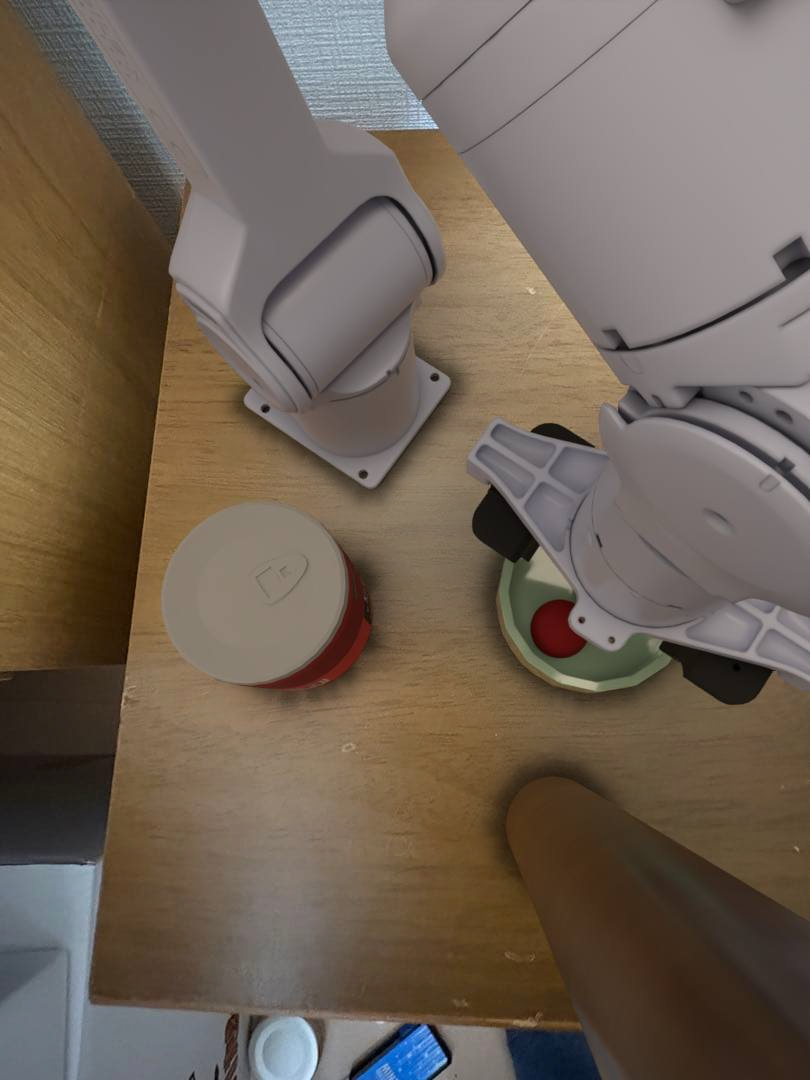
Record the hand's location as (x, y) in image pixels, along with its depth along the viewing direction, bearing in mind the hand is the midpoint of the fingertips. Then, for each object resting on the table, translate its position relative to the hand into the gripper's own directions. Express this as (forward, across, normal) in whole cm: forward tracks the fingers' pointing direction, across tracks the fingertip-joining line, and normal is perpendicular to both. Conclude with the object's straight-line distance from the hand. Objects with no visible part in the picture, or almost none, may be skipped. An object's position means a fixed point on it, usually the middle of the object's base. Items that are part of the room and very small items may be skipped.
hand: (604, 586), depth 37 cm
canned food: (+6, -12, -10) cm, 17 cm away
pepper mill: (+6, +5, -10) cm, 13 cm away
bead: (+4, 0, -2) cm, 5 cm away
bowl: (+6, 0, 0) cm, 6 cm away
